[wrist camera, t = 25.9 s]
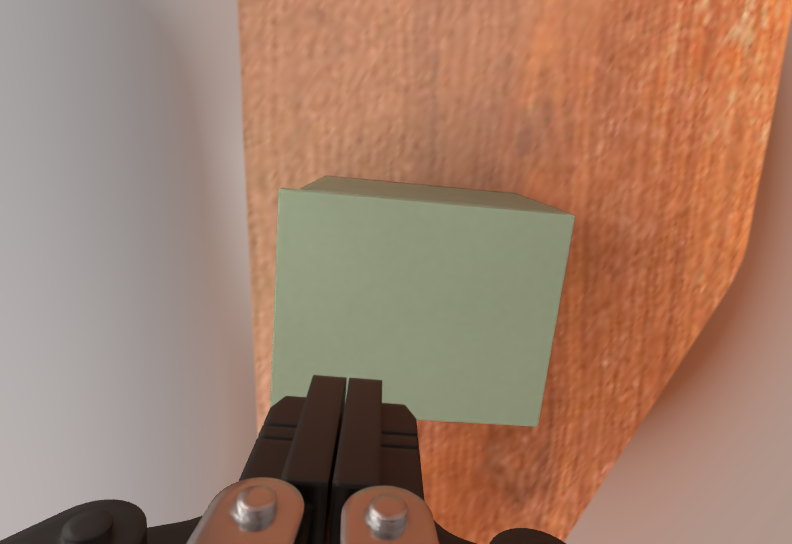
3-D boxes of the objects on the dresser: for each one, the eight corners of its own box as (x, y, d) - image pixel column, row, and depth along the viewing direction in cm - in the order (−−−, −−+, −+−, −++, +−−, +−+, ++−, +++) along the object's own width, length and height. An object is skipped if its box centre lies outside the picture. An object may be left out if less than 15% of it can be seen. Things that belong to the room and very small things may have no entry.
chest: (315, 331, 38) (289, 400, 28) (325, 175, 36) (299, 187, 25) (493, 345, 39) (533, 419, 29) (516, 193, 36) (569, 213, 26)
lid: (272, 404, 27) (269, 412, 27) (281, 187, 25) (278, 188, 24) (533, 419, 28) (538, 427, 28) (569, 213, 26) (575, 215, 25)
